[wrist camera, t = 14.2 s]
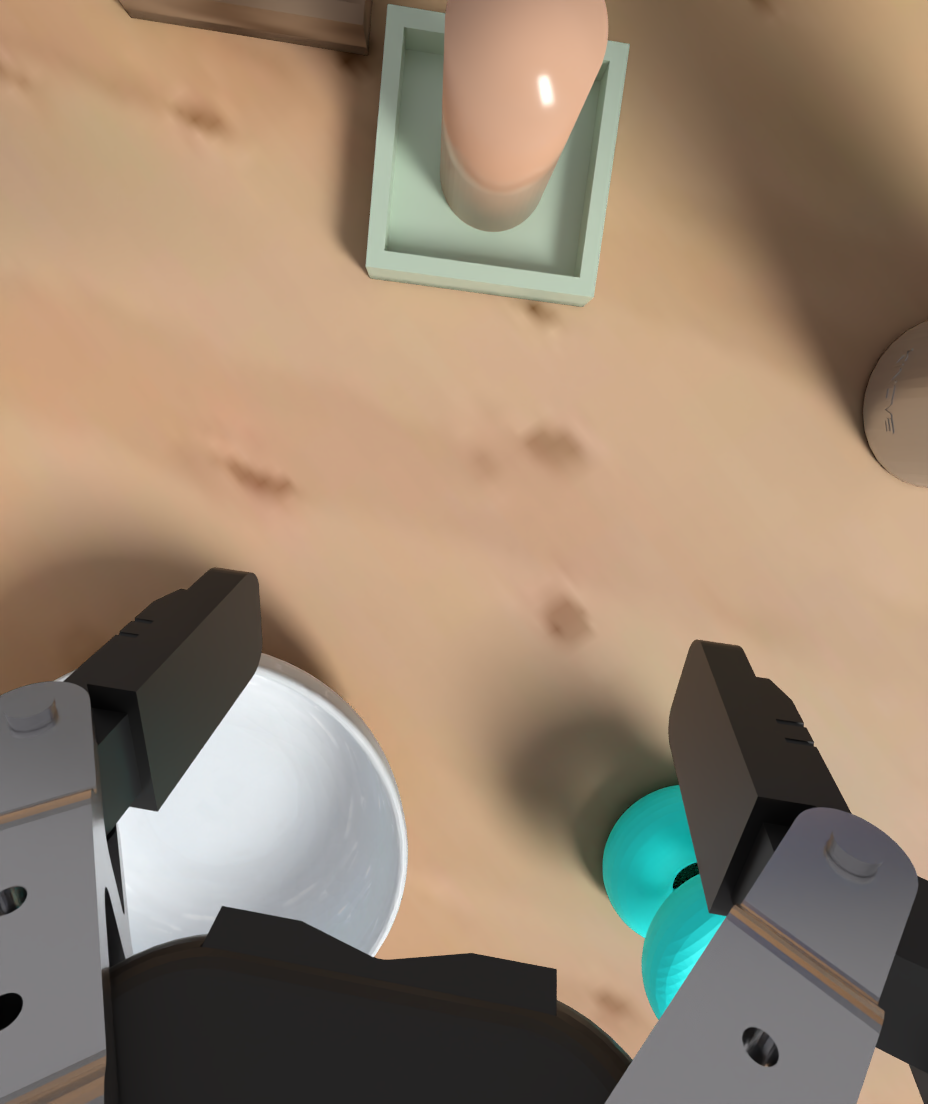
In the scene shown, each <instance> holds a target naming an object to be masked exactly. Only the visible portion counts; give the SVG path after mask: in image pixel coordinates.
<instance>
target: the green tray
mask: <svg viewBox="0 0 928 1104" xmlns="http://www.w3.org/2000/svg"><path fill="white" fill-rule="evenodd" d="M444 34H445V13H441V12H435V11H429V10H423V9H417V8H411V7H405V6H398V5H392V4H388V6H387V17H386V29H385V41H384V53H383V65H382V77H381V89H380V101H379V113H378V125H377V137H376V149H375V160H374V172H373V184H372V196H371V208H370V220H369V232H368V244H367V256H366V269H367V271H368V274H369V277H370V278H372V279H379V280H387V281H394V282H401V283H409V284H416V285H424V286H431V287H438V288H446V289H453V290H461V291H468V292H475V293H483V294H490V295H498V296H505V297H513V298H520V299H527V300H535V301H542V302H550V303H557V304H564V305H572V306H579V307H583V306H584V305H586V304H587V303H588V302H589V301H590V300H591V299H592V298H593V297H594V291H595V284H596V277H597V270H598V263H599V256H600V249H601V242H602V235H603V228H604V221H605V214H606V207H607V200H608V193H609V186H610V179H611V172H612V165H613V158H614V151H615V144H616V137H617V130H618V123H619V116H620V109H621V102H622V95H623V88H624V81H625V74H626V67H627V60H628V53H629V46H630V44H627V43H621V42H615V41H609V40H608V41H607V47H606V52H605V56H604V59H603V62H602V65H601V67H600V70H599V72H598V74H597V76H596V78H595V81H594V83H593V85H592V87H591V89H590V92H589V94H588V96H587V98H586V100H585V103H584V105H583V107H582V109H581V111H580V114H579V116H578V118H577V120H576V122H575V125H574V127H573V129H572V131H571V134H570V136H569V138H568V140H567V142H566V145H565V147H564V149H563V151H562V153H561V156H560V158H559V160H558V162H557V164H556V167H555V169H554V171H553V173H552V175H551V178H550V180H549V182H548V184H547V186H546V189H545V191H544V193H543V195H542V197H541V200H540V202H539V204H538V206H537V207H536V209H535V210H534V212H533V213H532V214H531V215H530V216H529V217H528V218H527V219H526V220H525V221H524V222H522V223H521V224H519V225H518V226H516V227H514V228H511V229H509V230H505V231H500V232H486V231H482V230H478V229H475V228H473V227H471V226H469V225H467V224H466V223H464V222H463V221H462V220H460V219H459V218H458V217H457V216H456V215H455V214H454V212H453V211H452V210H451V208H450V207H449V205H448V204H447V202H446V199H445V197H444V195H443V192H442V188H441V183H440V152H441V122H442V93H443V63H444Z"/></svg>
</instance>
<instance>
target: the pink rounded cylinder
mask: <svg viewBox="0 0 928 1104" xmlns="http://www.w3.org/2000/svg"><path fill="white" fill-rule="evenodd" d="M607 41H608V15H607V8H606V4H605V0H448V2H447V7H446V13H445V34H444V63H443V93H442V122H441V152H440V183H441V188H442V192H443V195H444V197H445V199H446V202H447V204H448V205H449V207H450V208H451V210H452V211H453V212H454V214H455V215H456V216H457V217H458V218H459V219H460V220H462V221H463V222H464V223H466V224H467V225H469V226H471V227H473V228H475V229H478V230H482V231H486V232H500V231H505V230H509V229H511V228H514V227H516V226H518V225H519V224H521V223H522V222H524V221H525V220H526V219H527V218H528V217H529V216H530V215H531V214H532V213H533V212H534V210H535V209H536V207H537V206H538V204H539V202H540V200H541V197H542V195H543V193H544V191H545V189H546V186H547V184H548V182H549V180H550V178H551V175H552V173H553V171H554V169H555V167H556V164H557V162H558V160H559V158H560V156H561V153H562V151H563V149H564V147H565V145H566V142H567V140H568V138H569V136H570V134H571V131H572V129H573V127H574V125H575V122H576V120H577V118H578V116H579V114H580V111H581V109H582V107H583V105H584V103H585V100H586V98H587V96H588V94H589V92H590V89H591V87H592V85H593V83H594V81H595V78H596V76H597V74H598V72H599V70H600V67H601V65H602V62H603V59H604V56H605V52H606V47H607Z"/></svg>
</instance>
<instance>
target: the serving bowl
mask: <svg viewBox="0 0 928 1104" xmlns="http://www.w3.org/2000/svg"><path fill="white" fill-rule="evenodd" d="M74 671H75V670H74ZM74 671H72V672H70V673H68V674H66V675H64V676H62V677H60V678H58V679H56V680H54V681H61V682H63V681H64V680H65V679H66V678H67V677H69V676H70V675H71V674H72V673H73V672H74ZM117 823H118V827H119V832H120V839H121V849H122V859H123V868H124V878H125V888H126V898H127V907H128V917H129V927H130V935H131V942H132V949H133V955H135V954H137V953H139V952H142V951H144V950H146V949H149V948H151V947H153V946H156V945H159V944H163V943H166V942H169V941H172V940H175V939H180V938H185V937H190V936H195V935H202V934H208V933H209V931H210V929H211V927H212V925H213V923H214V921H215V919H216V917H217V915H218V913H219V911H220V909H221V907H222V906H226V907H231V908H236V909H242V910H247V911H252V912H257V913H263V914H268V915H273V916H278V917H284V918H289V919H294V920H300V921H303V922H305V923H307V924H309V925H311V926H313V927H315V928H317V929H319V930H321V931H323V932H325V933H327V934H329V935H331V936H333V937H334V938H336V939H338V940H340V941H342V942H344V943H346V944H348V945H350V946H352V947H354V948H356V949H358V950H360V951H362V952H364V953H366V954H368V955H370V956H372V957H374V956H375V955H376V953H377V952H378V950H379V948H380V947H381V945H382V944H383V942H384V940H385V939H386V937H387V935H388V933H389V931H390V929H391V927H392V925H393V922H394V920H395V917H396V915H397V912H398V909H399V906H400V903H401V900H402V896H403V891H404V886H405V881H406V873H407V862H408V842H407V831H406V824H405V818H404V812H403V808H402V803H401V798H400V794H399V791H398V787H397V784H396V781H395V778H394V775H393V772H392V770H391V767H390V765H389V763H388V761H387V758H386V756H385V754H384V752H383V750H382V749H381V747H380V745H379V743H378V742H377V740H376V738H375V737H374V735H373V734H372V732H371V730H370V729H369V728H368V726H367V725H366V724H365V722H364V721H363V720H362V718H361V717H360V716H359V715H358V714H357V713H356V712H355V711H354V709H353V708H352V707H351V706H350V705H349V704H348V703H347V702H346V701H345V700H344V699H342V698H341V697H340V696H339V695H338V694H337V693H336V692H334V691H333V690H332V689H331V688H329V687H328V686H327V685H325V684H324V683H323V682H321V681H320V680H318V679H317V678H315V677H314V676H312V675H311V674H309V673H307V672H305V671H303V670H302V669H300V668H298V667H296V666H294V665H292V664H290V663H288V662H285V661H283V660H280V659H278V658H275V657H273V656H270V655H267V654H264V653H261V658H260V662H259V665H258V668H257V670H256V672H255V674H254V676H253V677H252V679H251V680H250V681H249V683H248V684H247V686H246V687H245V689H244V690H243V691H242V693H241V694H240V696H239V697H238V699H237V700H236V701H235V703H234V704H233V706H232V707H231V708H230V710H229V711H228V713H227V714H226V716H225V717H224V718H223V720H222V721H221V723H220V724H219V725H218V727H217V728H216V730H215V731H214V733H213V734H212V735H211V737H210V738H209V740H208V741H207V743H206V744H205V745H204V747H203V748H202V750H201V751H200V752H199V754H198V755H197V757H196V758H195V760H194V761H193V762H192V764H191V765H190V767H189V768H188V770H187V771H186V772H185V774H184V775H183V777H182V778H181V779H180V781H179V782H178V784H177V785H176V787H175V788H174V789H173V791H172V792H171V794H170V795H169V796H168V798H167V799H166V801H165V802H164V804H163V805H162V806H161V808H160V809H159V811H158V812H156V811H150V810H145V809H139V808H134V807H129V808H128V809H127V810H126V812H125V813H124V814H123V816H122V817H121V818H120V820H119V821H118V822H117Z"/></svg>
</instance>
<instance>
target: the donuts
mask: <svg viewBox="0 0 928 1104" xmlns="http://www.w3.org/2000/svg"><path fill="white" fill-rule="evenodd" d="M693 863H697V860H696V856H695V851H694V847H693V843H692V838H691V834H690V830H689V826H688V821H687V817H686V813H685V808H684V804H683V800H682V795H681V791H680V787H679V785H675V786H669V787H666V788H662V789H659V790H657V791H654V792H652V793H650V794H648V795H646V796H644V797H643V798H641V799H639V800H638V801H637V802H635V803H634V804H633V805H632V806H630V807H629V808H628V809H627V810H626V811H625V812H624V813H623V815H622V816H621V817H620V818H619V820H618V821H617V822H616V824H615V825H614V827H613V829H612V831H611V833H610V835H609V837H608V840H607V843H606V846H605V849H604V854H603V880H604V885H605V889H606V892H607V895H608V898H609V900H610V902H611V904H612V906H613V908H614V909H615V911H616V912H617V914H618V915H619V916H620V918H621V919H622V920H623V921H624V922H625V924H627V925H628V926H629V927H630V928H631V929H632V930H633V931H635V932H636V933H638V934H639V935H641V936H642V937H644V938H645V941H644V946H643V953H642V976H643V982H644V988H645V991H646V995H647V997H648V1000H649V1003H650V1005H651V1007H652V1009H653V1011H654V1013H655V1015H656V1017H657V1018H658V1020H659V1019H660V1018H661V1016H662V1015H663V1013H664V1012H665V1010H666V1008H667V1007H668V1005H669V1004H670V1002H671V1001H672V999H673V998H674V996H675V995H676V993H677V992H678V990H679V988H680V987H681V985H682V984H683V982H684V981H685V979H686V978H687V976H688V975H689V973H690V972H691V970H692V968H693V967H694V965H695V964H696V962H697V961H698V959H699V958H700V956H701V955H702V953H703V952H704V950H705V948H706V947H707V945H708V944H709V942H710V941H711V939H712V938H713V936H714V935H715V933H716V932H717V930H718V929H719V927H720V925H721V924H722V922H723V921H724V919H725V918H726V916H722V915H717V914H711V913H709V912H708V907H707V903H706V899H705V894H704V890H703V886H702V881H701V877H700V874H698V875H696V876H694V877H692V878H690V879H689V880H687V881H686V882H684V883H683V884H682V885H680V886H679V887H678V888H677V889H675V888H673V882H674V880H675V878H676V876H677V875H678V873H679V872H680V871H681V870H682V869H684V868H685V867H687V866H688V865H691V864H693Z"/></svg>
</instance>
